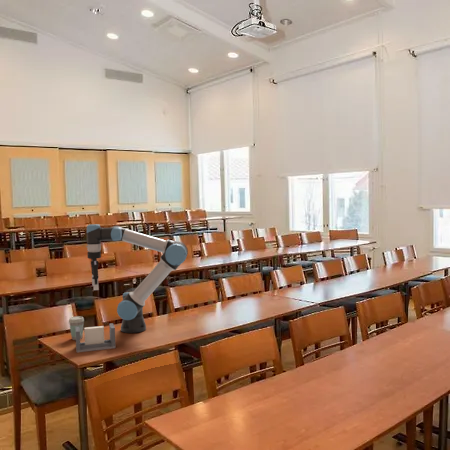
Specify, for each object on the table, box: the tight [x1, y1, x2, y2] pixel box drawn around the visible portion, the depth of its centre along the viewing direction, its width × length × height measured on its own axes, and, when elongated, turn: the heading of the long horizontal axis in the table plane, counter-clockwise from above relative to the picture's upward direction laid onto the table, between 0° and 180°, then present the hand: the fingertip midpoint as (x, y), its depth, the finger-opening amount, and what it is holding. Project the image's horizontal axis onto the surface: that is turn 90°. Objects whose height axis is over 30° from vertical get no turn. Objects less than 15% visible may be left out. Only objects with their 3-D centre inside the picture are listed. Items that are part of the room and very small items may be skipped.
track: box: [75, 323, 116, 353], centre depth 260 cm, size 20×10×11 cm, turn 109°
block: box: [83, 325, 105, 345], centre depth 260 cm, size 10×3×10 cm, turn 108°
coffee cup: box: [68, 315, 85, 341], centre depth 277 cm, size 9×9×12 cm
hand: (95, 287), depth 278 cm, fingers open, 13 cm apart
